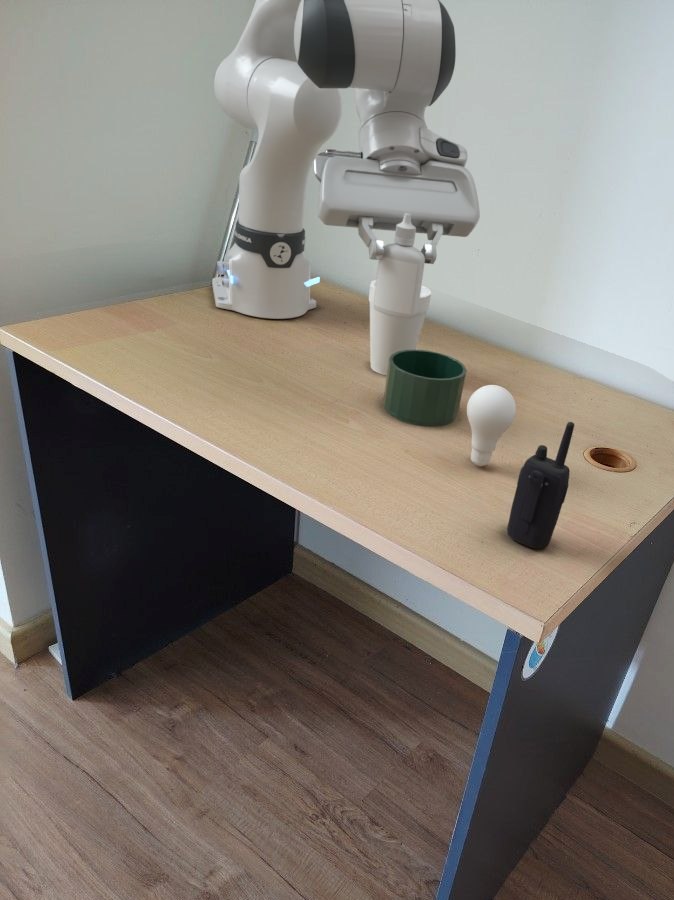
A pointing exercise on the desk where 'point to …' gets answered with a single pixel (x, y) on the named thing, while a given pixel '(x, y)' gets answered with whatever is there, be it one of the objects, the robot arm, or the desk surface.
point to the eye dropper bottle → (400, 274)
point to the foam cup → (394, 331)
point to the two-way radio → (540, 495)
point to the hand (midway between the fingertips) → (403, 259)
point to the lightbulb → (489, 420)
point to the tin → (424, 387)
